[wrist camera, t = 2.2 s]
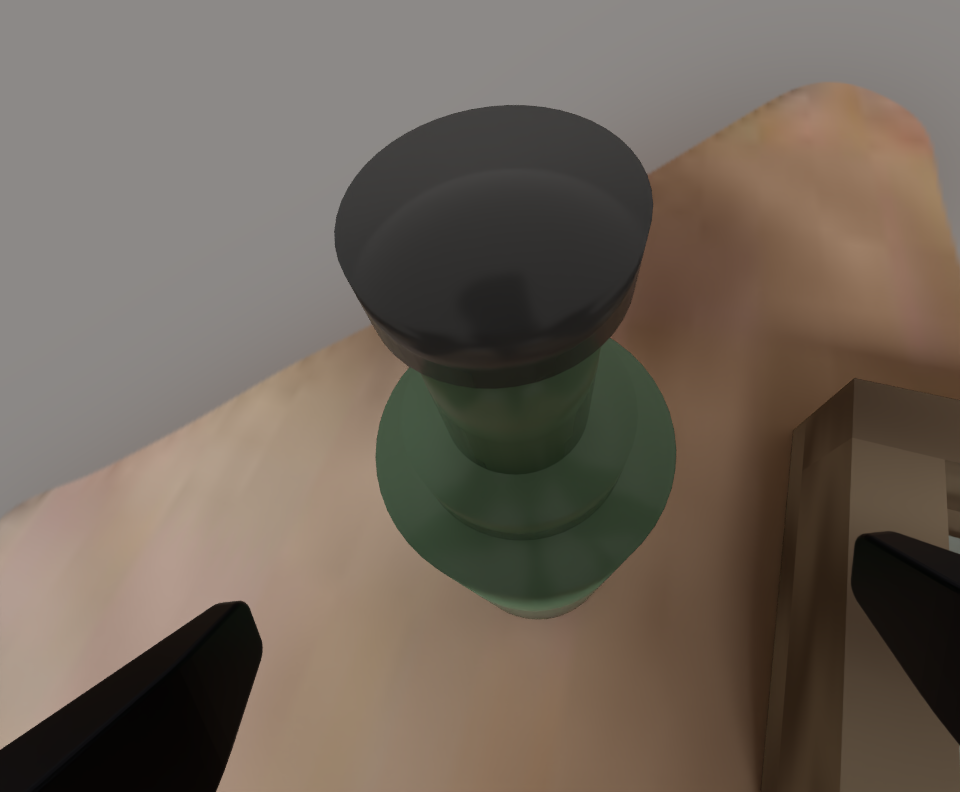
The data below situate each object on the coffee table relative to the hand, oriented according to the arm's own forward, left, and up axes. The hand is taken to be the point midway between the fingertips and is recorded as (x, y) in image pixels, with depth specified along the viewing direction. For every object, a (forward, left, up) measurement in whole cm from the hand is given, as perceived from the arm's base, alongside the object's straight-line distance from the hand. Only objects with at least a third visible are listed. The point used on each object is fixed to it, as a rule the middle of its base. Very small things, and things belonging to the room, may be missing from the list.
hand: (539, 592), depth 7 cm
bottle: (+2, +1, -10) cm, 10 cm away
